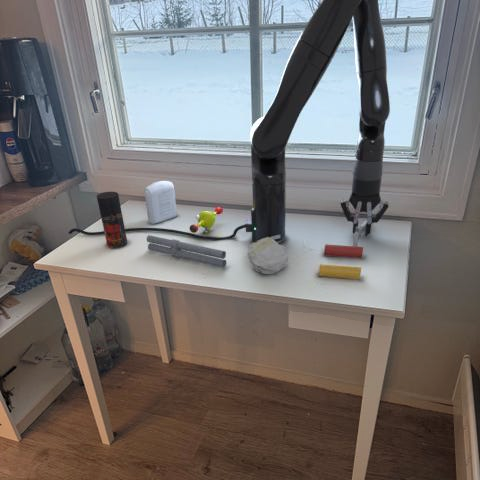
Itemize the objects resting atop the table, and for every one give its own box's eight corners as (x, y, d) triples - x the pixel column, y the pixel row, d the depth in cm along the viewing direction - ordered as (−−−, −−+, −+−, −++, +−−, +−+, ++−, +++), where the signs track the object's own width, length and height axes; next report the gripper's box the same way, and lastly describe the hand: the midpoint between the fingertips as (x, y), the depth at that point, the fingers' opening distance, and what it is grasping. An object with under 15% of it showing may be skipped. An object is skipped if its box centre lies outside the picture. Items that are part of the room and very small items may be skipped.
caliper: (356, 251, 129) (358, 229, 125) (352, 250, 129) (354, 229, 126) (368, 223, 144) (370, 204, 141) (364, 223, 145) (366, 203, 141)
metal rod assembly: (227, 265, 125) (226, 248, 122) (222, 270, 123) (220, 252, 120) (152, 248, 136) (149, 232, 133) (146, 252, 134) (143, 235, 131)
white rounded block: (171, 213, 159) (167, 176, 152) (179, 216, 157) (175, 179, 150) (146, 222, 153) (140, 184, 147) (154, 225, 151) (148, 187, 144)
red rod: (323, 257, 126) (324, 247, 125) (325, 252, 129) (325, 242, 127) (361, 260, 124) (363, 249, 122) (362, 255, 126) (363, 245, 125)
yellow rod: (318, 278, 117) (319, 267, 115) (319, 272, 119) (320, 262, 118) (359, 281, 114) (360, 270, 113) (360, 276, 117) (361, 265, 115)
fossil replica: (294, 262, 125) (258, 261, 128) (293, 232, 121) (256, 232, 124) (283, 280, 115) (245, 279, 118) (281, 248, 111) (241, 247, 114)
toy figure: (213, 220, 152) (211, 200, 148) (228, 222, 150) (227, 202, 146) (184, 242, 139) (181, 220, 135) (200, 244, 137) (198, 222, 133)
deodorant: (103, 245, 140) (92, 195, 131) (120, 238, 143) (110, 190, 135) (114, 250, 136) (104, 200, 128) (131, 243, 140) (122, 194, 131)
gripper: (394, 172, 128) (385, 231, 138) (342, 170, 131) (338, 228, 141) (394, 180, 122) (385, 241, 132) (340, 178, 125) (335, 238, 135)
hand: (361, 234), depth 136 cm, fingers closed
